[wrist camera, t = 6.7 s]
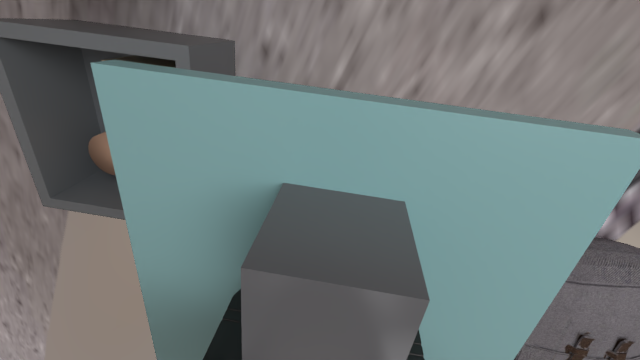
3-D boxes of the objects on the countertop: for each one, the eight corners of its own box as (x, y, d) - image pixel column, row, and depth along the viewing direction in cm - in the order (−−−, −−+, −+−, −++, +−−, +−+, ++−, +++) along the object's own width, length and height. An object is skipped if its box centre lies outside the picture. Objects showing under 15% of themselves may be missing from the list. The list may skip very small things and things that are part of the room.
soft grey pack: (497, 225, 32) (462, 347, 41) (538, 285, 24) (484, 418, 33) (659, 232, 30) (585, 358, 39) (756, 299, 23) (637, 436, 32)
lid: (134, 56, 11) (-87, 85, 5) (604, 120, 10) (892, 229, 4) (180, 343, 18) (105, 475, 13) (452, 395, 17) (492, 559, 12)
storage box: (73, 19, 27) (-28, 17, 20) (234, 40, 27) (188, 45, 19) (108, 168, 34) (43, 206, 27) (237, 189, 33) (204, 232, 26)
